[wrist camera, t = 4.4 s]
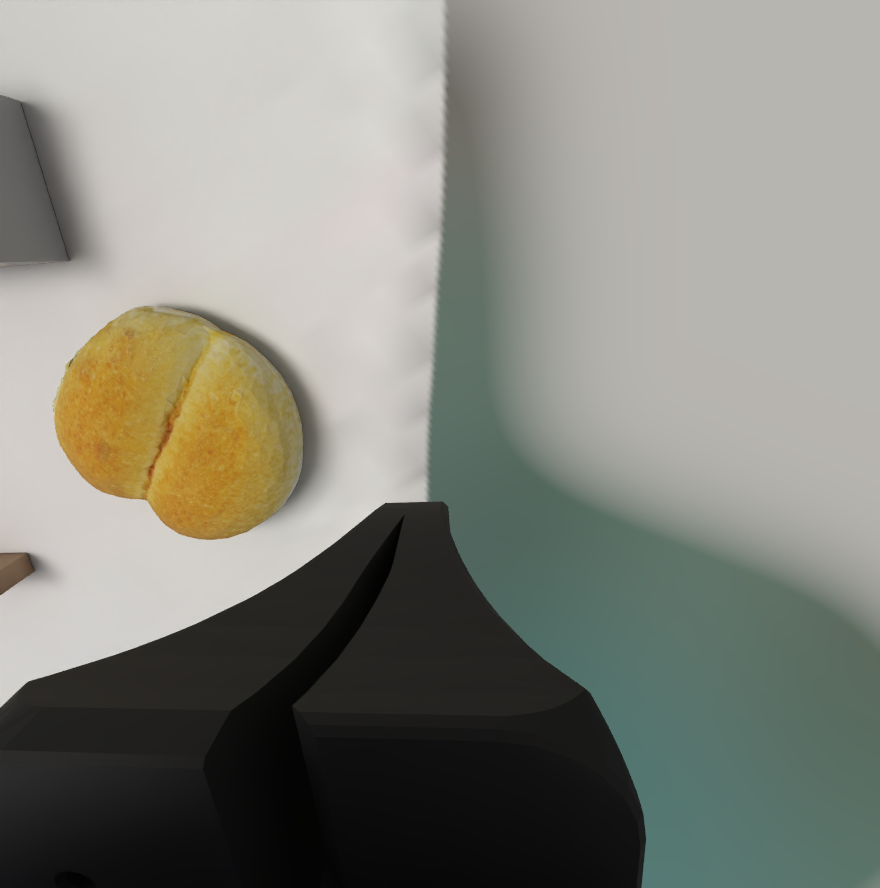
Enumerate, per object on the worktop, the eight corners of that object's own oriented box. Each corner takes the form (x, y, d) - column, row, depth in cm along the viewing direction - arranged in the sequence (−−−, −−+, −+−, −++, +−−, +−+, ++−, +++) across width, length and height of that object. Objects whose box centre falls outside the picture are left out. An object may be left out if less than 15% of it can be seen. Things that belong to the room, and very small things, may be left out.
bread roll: (261, 547, 23) (216, 605, 19) (74, 436, 22) (-12, 475, 18) (352, 399, 20) (320, 433, 16) (143, 263, 19) (57, 266, 15)
